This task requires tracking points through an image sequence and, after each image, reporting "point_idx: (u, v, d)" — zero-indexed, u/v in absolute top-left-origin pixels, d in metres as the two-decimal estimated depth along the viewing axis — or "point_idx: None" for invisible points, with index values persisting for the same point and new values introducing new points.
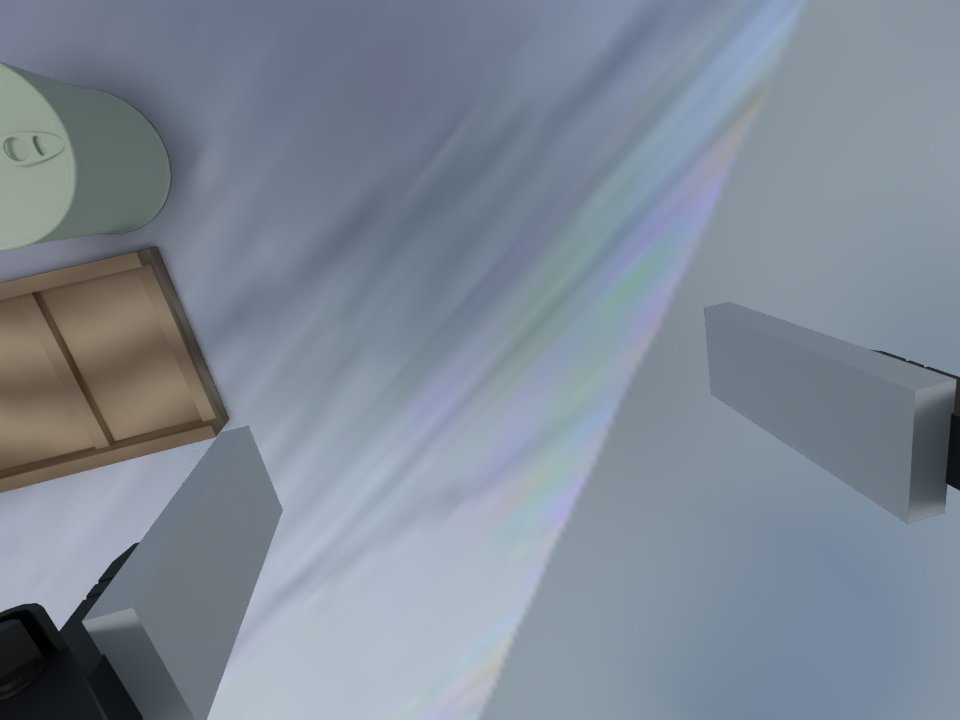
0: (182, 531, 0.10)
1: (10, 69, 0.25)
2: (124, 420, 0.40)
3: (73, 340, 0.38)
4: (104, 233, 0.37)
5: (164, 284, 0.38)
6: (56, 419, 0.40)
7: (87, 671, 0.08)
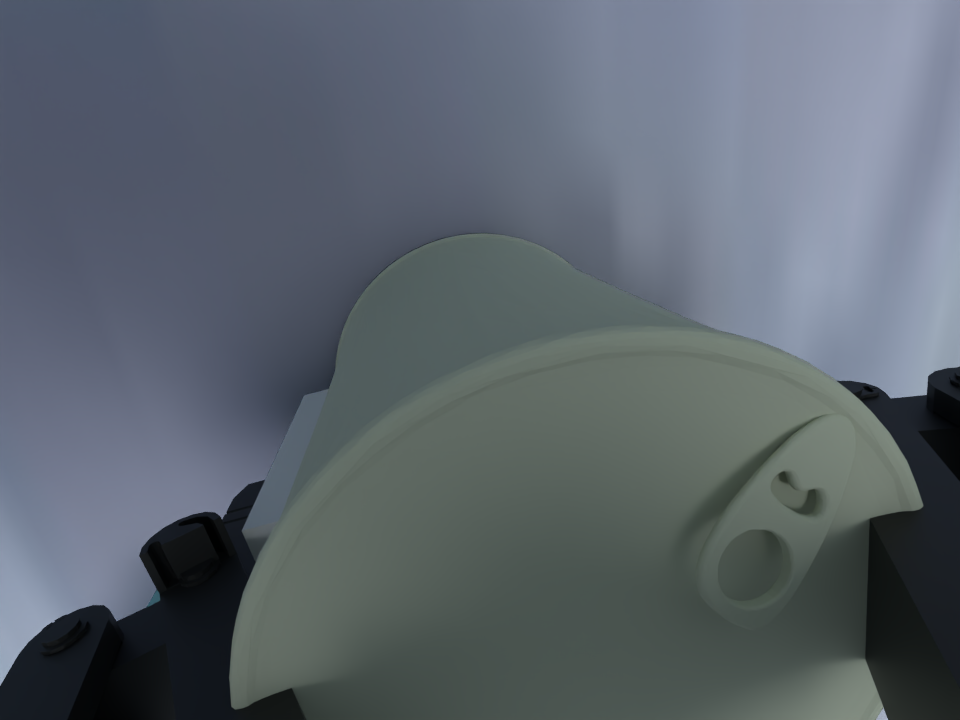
0: None
1: (571, 339, 0.05)
2: None
3: None
4: None
5: None
6: None
7: (247, 572, 0.09)
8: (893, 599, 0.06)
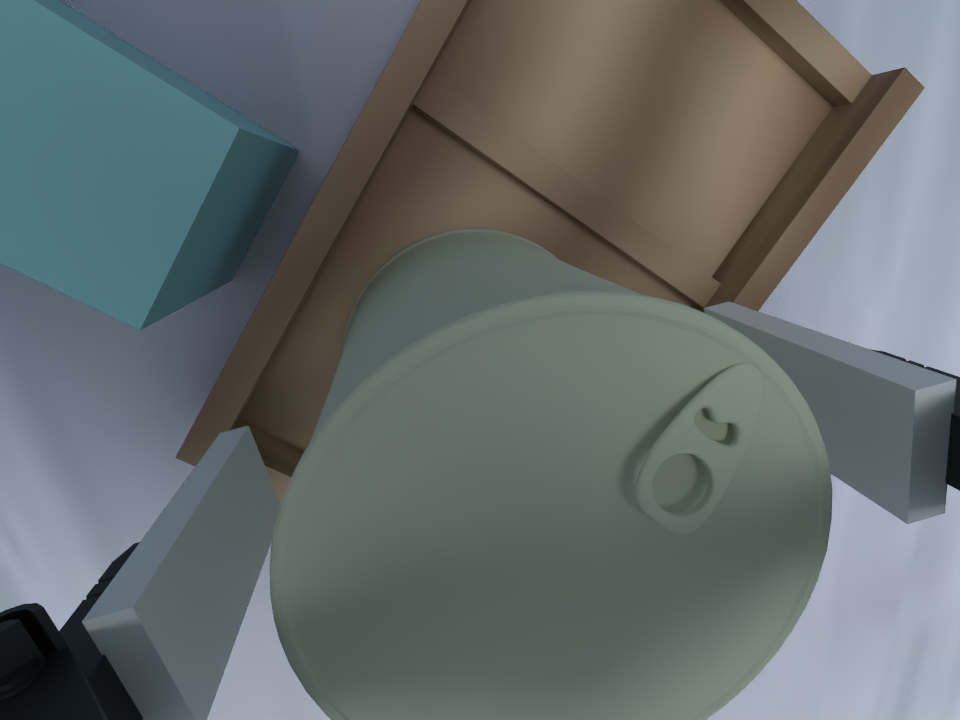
0: (182, 531, 0.10)
1: (535, 301, 0.07)
2: (703, 228, 0.19)
3: (541, 136, 0.17)
4: None
5: None
6: None
7: (87, 671, 0.08)
8: None
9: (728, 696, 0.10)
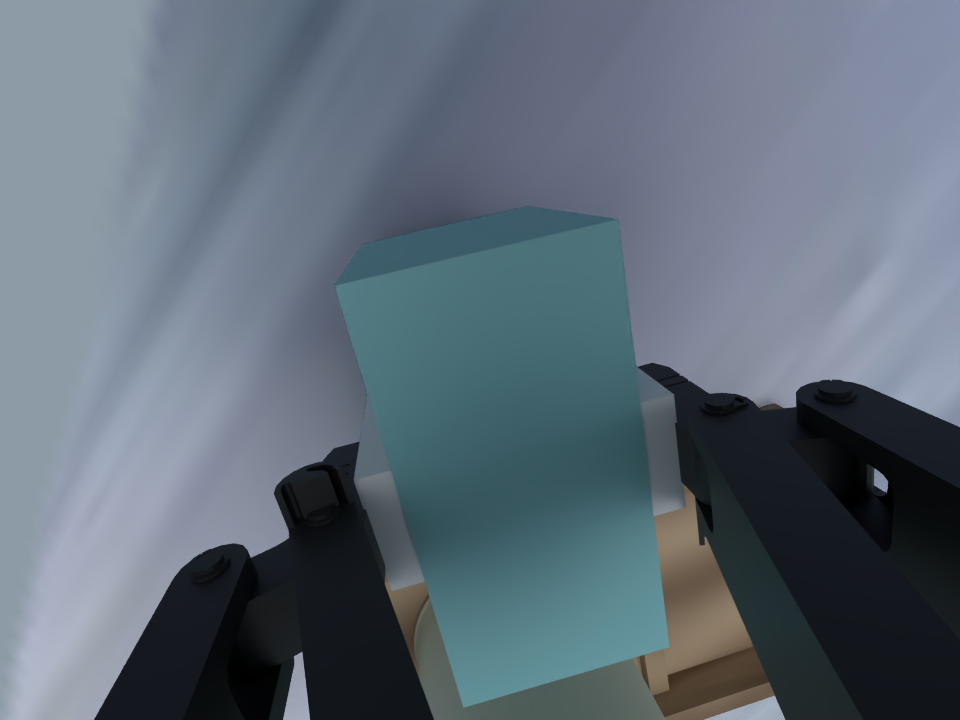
0: None
1: None
2: (682, 648, 0.27)
3: None
4: None
5: None
6: None
7: None
8: (782, 608, 0.06)
9: None
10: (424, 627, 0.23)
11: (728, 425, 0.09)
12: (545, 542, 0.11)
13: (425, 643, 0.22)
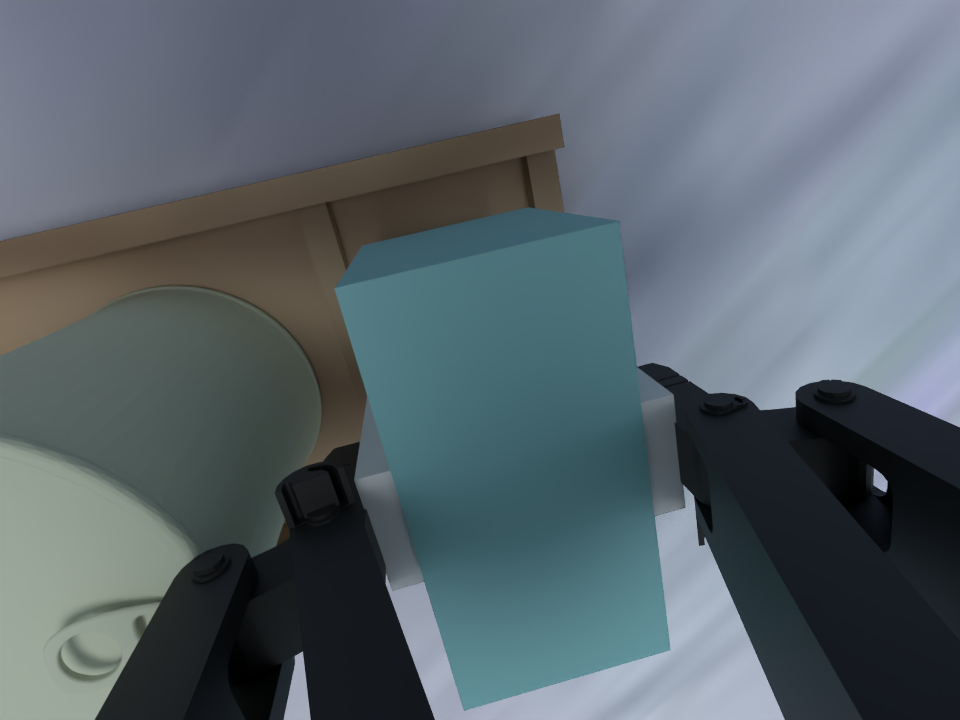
0: None
1: (78, 469, 0.09)
2: None
3: None
4: None
5: None
6: (322, 451, 0.22)
7: None
8: (781, 608, 0.06)
9: None
10: None
11: (727, 425, 0.09)
12: (545, 545, 0.11)
13: None
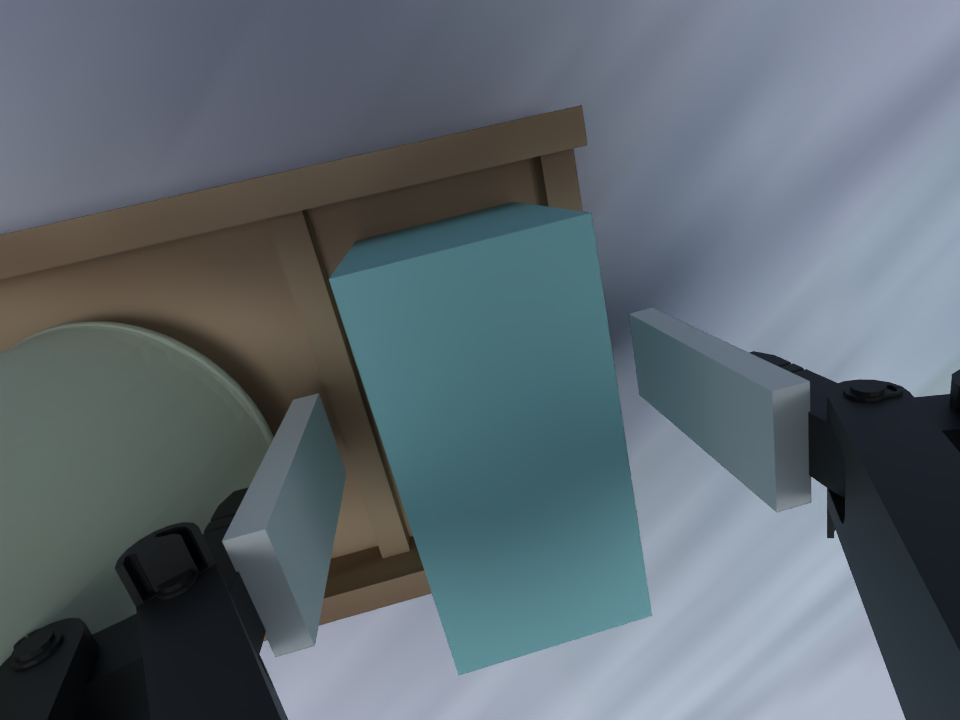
0: (287, 474, 0.11)
1: None
2: None
3: None
4: None
5: None
6: None
7: (227, 583, 0.09)
8: (913, 599, 0.06)
9: None
10: None
11: (875, 413, 0.09)
12: (531, 517, 0.12)
13: None
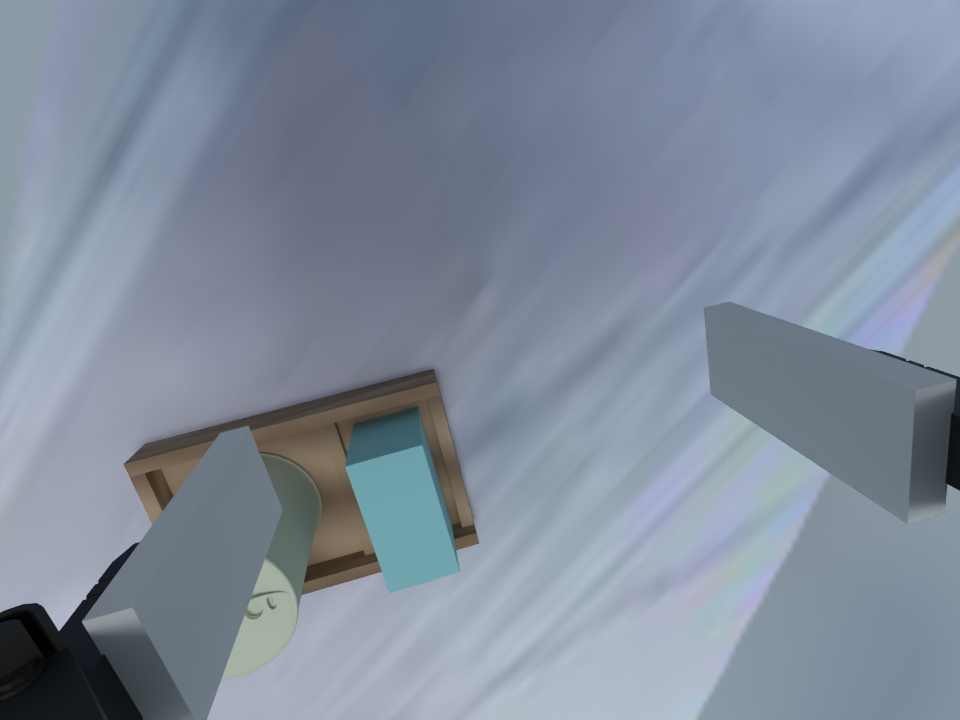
0: (182, 531, 0.10)
1: None
2: None
3: None
4: None
5: None
6: (329, 528, 0.42)
7: (87, 671, 0.08)
8: None
9: (229, 676, 0.31)
10: None
11: None
12: (411, 535, 0.36)
13: None
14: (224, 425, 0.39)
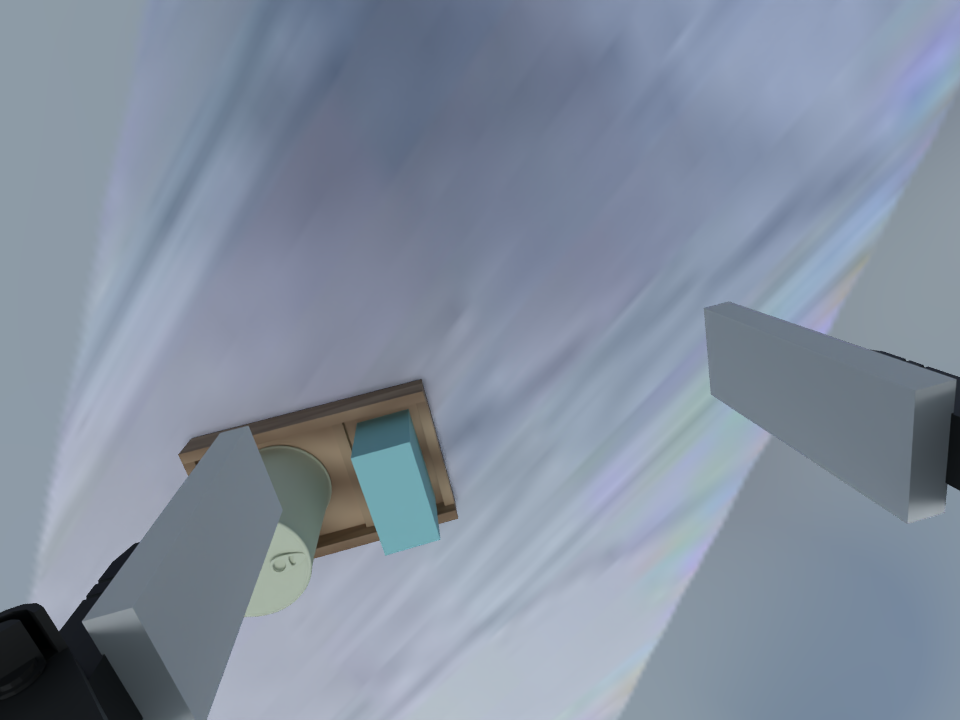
0: (182, 531, 0.10)
1: (278, 523, 0.39)
2: None
3: None
4: None
5: (428, 407, 0.51)
6: (338, 505, 0.53)
7: (87, 671, 0.08)
8: None
9: (260, 614, 0.42)
10: None
11: None
12: (402, 511, 0.46)
13: None
14: (254, 423, 0.50)
